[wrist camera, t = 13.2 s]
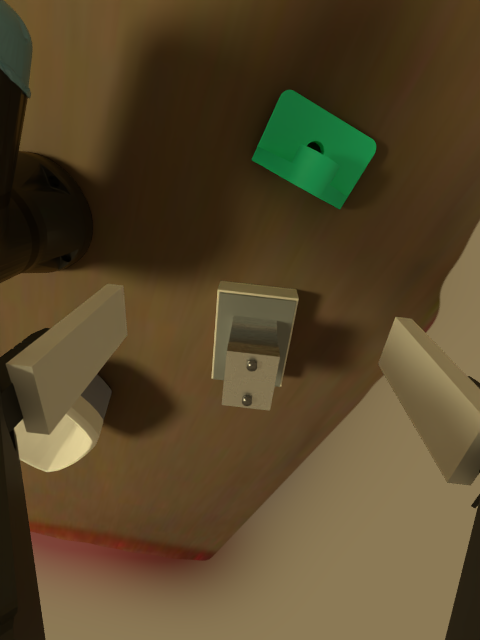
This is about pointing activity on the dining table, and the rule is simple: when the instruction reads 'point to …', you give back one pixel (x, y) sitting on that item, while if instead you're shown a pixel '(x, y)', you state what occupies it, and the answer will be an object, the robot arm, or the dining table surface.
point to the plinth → (254, 305)
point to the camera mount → (307, 164)
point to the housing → (251, 363)
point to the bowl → (67, 431)
